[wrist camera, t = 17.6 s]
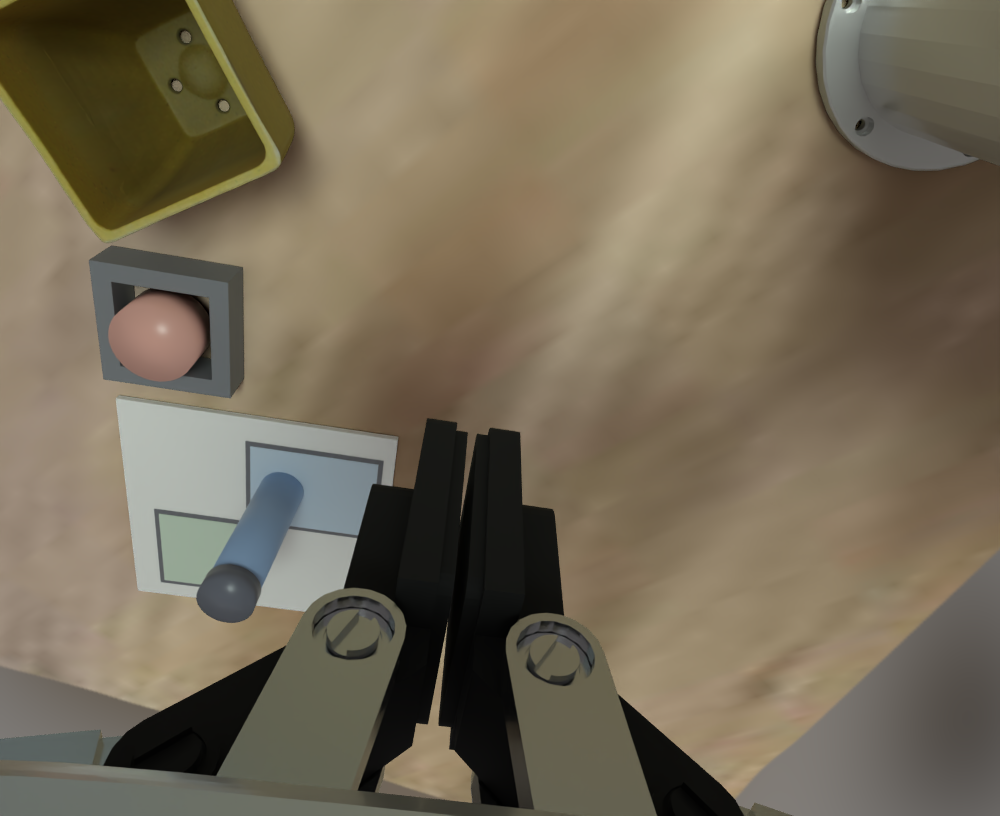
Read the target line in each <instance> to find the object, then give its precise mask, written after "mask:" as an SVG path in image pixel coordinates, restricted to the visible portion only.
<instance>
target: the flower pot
mask: <svg viewBox="0 0 1000 816" xmlns="http://www.w3.org/2000/svg"><path fill="white" fill-rule="evenodd" d="M182 30H187V31H188V32H189V33H190V34H191V41H190V43H183V42H182V41H181V39H180V37H179V34H180V32H181V31H182ZM173 79H177V80H179V81H180V82H181V84H182V90H181V91H180V92H178V91H175V90H173V89H172V87H171V81H172V80H173ZM0 99H1V101H2V102H3V103H4V105H5V106H6V108H7V109H8V110H9V112H10V113H11V114H12V116H13V117H14V118H15V120H16V121H17V123H18V124H19V125H20V127H21V128H22V129H23V131H24V132H25V133H26V135H27V136H28V138H29V139H30V140H31V142H32V143H33V145H34V146H35V148H36V149H37V151H38V152H39V154H40V155H41V156H42V158H43V159H44V161H45V163H46V164H47V165H48V167H49V168H50V170H51V171H52V173H53V175H54V176H55V178H56V179H57V181H58V182H59V184H60V185H61V187H62V188H63V190H64V191H65V193H66V194H67V196H68V197H69V199H70V200H71V201H72V203H73V204H74V206H75V207H76V209H77V210H78V212H79V213H80V215H81V217H82V218H83V220H84V221H85V222H86V224H87V225H88V226H89V227H90V229H91V230H92V231H93V232H94V233H95V234H96V235H97V237H98V238H99V239H100V240H101V241H102V242H104V243H111V242H114V241H117V240H119V239H121V238H124V237H126V236H128V235H130V234H132V233H134V232H136V231H139V230H141V229H143V228H145V227H148V226H150V225H152V224H154V223H156V222H159V221H161V220H163V219H165V218H168V217H170V216H172V215H174V214H177V213H179V212H181V211H184V210H186V209H188V208H191V207H193V206H195V205H198V204H200V203H202V202H204V201H207V200H209V199H211V198H213V197H216V196H218V195H220V194H223V193H225V192H227V191H230V190H232V189H234V188H237V187H239V186H242V185H244V184H246V183H248V182H251V181H253V180H256V179H258V178H260V177H263V176H265V175H267V174H269V173H271V172H273V171H275V170H276V169H278V167H279V166H280V165H281V163H282V161H283V159H284V157H285V155H286V153H287V151H288V149H289V147H290V145H291V143H292V140H293V137H294V131H295V129H294V122H293V119H292V116H291V114H290V112H289V110H288V108H287V106H286V104H285V102H284V100H283V98H282V97H281V95H280V93H279V91H278V89H277V87H276V85H275V83H274V81H273V79H272V77H271V76H270V74H269V72H268V70H267V68H266V66H265V64H264V62H263V60H262V58H261V56H260V54H259V52H258V51H257V49H256V47H255V45H254V43H253V41H252V39H251V37H250V35H249V33H248V31H247V29H246V27H245V25H244V23H243V21H242V19H241V17H240V15H239V13H238V11H237V9H236V7H235V5H234V3H233V1H232V0H0ZM221 99H224V100H226V101H227V102H228V103H229V106H230V108H229V110H228V111H226V112H223V111H221V110H220V109H219V108H218V102H219V100H221Z"/></svg>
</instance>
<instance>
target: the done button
mask: <svg viewBox="0 0 1000 816" xmlns="http://www.w3.org/2000/svg"><path fill="white" fill-rule="evenodd" d="M108 338H109V343H110V346H111V349H112V351H113V353H114V354H115V356H116V358H117V359H118V360H119V361H120V362H121V363H122V365H123V366H125V367H126V368H127V369H128V370H130V371H131V372H132V373H134V374H136V375H138V376H140V377H142V378H145V379H148V380H152V381H160V382H164V381H172V380H175V379H178V378H180V377H181V376H183V375H184V374H186V373H187V372H188V371H189V369H190V368H191V367H192V366H193V365H194V363H195V362H196V361H197V360H198V359H199V357H200V356H201V355H202V354H203V353H204V351H205V350H206V349H207V348H208V346H209V344H210V342H211V338H210V318H209V316H208V314H207V312H206V310H205V309H204V307H203V306H202V305H201V304H200V303H199V302H198V301H197V300H196V299H195V298H193V297H192V296H191V295H189V294H184V293H178V292H172V291H166V290H159V289H153V288H150V289H148V290H146V291H144V292H142V293H141V294H140V295H138V296H137V297H136V298H135V299H134V300H132V301H131V302H130V303H129V304H128V305H126V306H125V307H124V308H123V309H122V310H120V311H119V312H118V313H117V314H116V315H115V316H114V317H113V319H112V321H111V323H110V325H109V330H108Z"/></svg>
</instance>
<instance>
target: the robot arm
mask: <svg viewBox="0 0 1000 816" xmlns="http://www.w3.org/2000/svg"><path fill="white" fill-rule="evenodd" d="M841 4H842V0H826V2H825V5H824V9H823V13H822V17H821V22H820V26H819V31H818V35H817V51H816V69H817V77H818V85H819V91H820V94H821V97H822V100H823V103H824V105H825V108H826V111H827V114H828V115H829V117H830V119H831V120H832V122H833V123H834V125H835V127H836V128H837V130H838V131H839V133H840V134H841V135H842V136H843V137H844V138H845V139H846V140H847V141H848V142H849V143H850V144H851V145H852V146H853V147H855V148H856V149H858V150H859V151H861V152H863V153H864V154H866V155H868V156H869V157H871V158H873V159H875V160H877V161H880V162H882V163H885V164H887V165H890V166H892V167H897V168H903V169H908V170H913V171H934V170H944V169H949V168H954V167H959V166H964V165H967V164H969V163H972V162H975V161H977V160H980V159H981V160H984V161H987V162H990V163H992V164H995V165H998V166H1000V0H849V1H848V4H847V6H846V7H844V8H842V7H841ZM860 119H861V125H860V127H859V128H857V129H855V126H856V124H857V122H858V121H859V120H860ZM456 429H457V423H456V422H449V421H442V420H436V419H429V418H427V422H426V428H425V433H424V439H423V444H422V449H421V455H420V460H419V466H418V471H417V476H416V482H415V487H414V489H408V488H401V487H394V486H387V485H380V484H372V487H371V490H370V493H369V497H368V501H367V504H366V508H365V512H364V515H363V519H362V523H361V526H360V530H359V534H358V537H357V541H356V545H355V548H354V552H353V556H352V559H351V563H350V567H349V570H348V574H347V578H346V581H345V585H344V589H339V590H336V591H333V592H330V593H327V594H325V595H323V596H322V597H320V598H319V599H317V600H316V601H314V602H313V603H312V604H311V605H310V606H309V608H308V609H307V610H306V611H305V613H304V614H303V616H302V618H301V620H300V621H299V623H298V625H297V627H296V629H295V631H294V633H293V634H292V636H291V638H290V640H289V642H288V644H287V645H286V646H284V647H283V648H281V649H279V650H277V651H275V652H273V653H271V654H269V655H267V656H265V657H263V658H262V659H260V660H258V661H256V662H254V663H252V664H250V665H248V666H246V667H244V668H242V669H241V670H239V671H237V672H235V673H233V674H231V675H229V676H227V677H225V678H223V679H222V680H220V681H218V682H216V683H214V684H212V685H210V686H208V687H206V688H204V689H202V690H201V691H199V692H197V693H195V694H193V695H191V696H189V697H187V698H185V699H183V700H181V701H180V702H178V703H176V704H174V705H172V706H170V707H168V708H166V709H164V710H162V711H161V712H159V713H157V714H155V715H153V716H151V717H149V718H147V719H145V720H144V721H142V722H141V723H139V724H138V725H136V726H135V727H133V728H132V729H130V730H129V731H127V732H126V733H125V734H124V735H123V736H117V737H106V738H102V733H101V730H91V731H80V732H70V733H59V734H48V735H37V736H27V737H16V738H5V739H0V816H792V815H789V814H786V813H783V812H781V811H778V810H775V809H772V808H769V807H766V806H763V805H760V804H757V803H754V805H753V806H752V808H751V810H750V809H747V808H744V807H741V806H738V804H737V802H736V800H735V799H734V798H733V797H732V796H731V795H730V794H729V793H728V792H727V790H726V789H725V788H724V787H723V786H722V785H721V784H720V783H719V782H717V781H716V780H715V779H714V778H713V777H712V776H711V775H709V774H708V773H707V772H706V771H705V770H704V769H703V768H701V767H700V766H699V765H698V764H697V763H696V762H695V761H694V760H692V759H691V758H690V757H689V756H688V755H687V754H686V753H684V752H683V751H682V750H681V749H680V748H679V747H678V746H676V745H675V744H674V743H673V742H672V741H671V740H670V739H668V738H667V737H666V736H665V735H664V734H663V733H662V732H660V731H659V730H658V729H657V728H656V727H655V726H654V725H653V724H651V723H650V722H649V721H648V720H647V719H646V718H645V717H643V716H642V715H641V714H640V713H639V712H638V711H637V710H635V709H634V708H633V707H632V706H631V705H630V704H629V703H627V702H626V701H625V700H624V699H623V698H622V697H621V696H619V695H618V694H617V690H616V687H615V684H614V681H613V678H612V675H611V672H610V669H609V666H608V663H607V659H606V656H605V653H604V651H603V649H602V647H601V645H600V643H599V641H598V639H597V638H596V637H595V636H594V635H593V634H592V633H591V632H590V631H589V629H587V628H586V627H584V626H583V625H581V624H580V623H578V622H577V621H575V620H573V619H571V618H568V617H565V616H564V611H563V600H562V589H561V578H560V567H559V556H558V545H557V534H556V523H555V515H554V511H553V509H548V508H541V507H534V506H527V505H522V478H521V445H520V432H515V431H509V430H502V429H495V428H490V429H489V432H488V435H482V434H477V436H476V440H475V446H474V451H473V457H472V462H471V467H470V473H469V478H468V483H467V489H466V494H465V500H464V505H463V510H462V516H461V504H462V493H463V482H464V470H465V459H466V447H467V436H468V432H462V431H456ZM460 516H461V521H460ZM447 621H448V625H447ZM446 627H447V636H446V647H445V658H444V668H443V679H442V690H441V701H440V711H439V726H446V727H451V733H450V746H449V749H451V750H455V752H456V753H457V754H458V755H459V756H460V757H461V758H462V759H463V761H464V762H465V763H466V764H467V765H468V766H469V767H470V768H471V770H472V775H471V794H472V803H467V802H458V801H449V800H440V799H430V798H421V797H411V796H402V795H393V794H384V793H379V790H380V787H381V784H382V781H383V778H384V771H385V765H386V764H388V763H389V762H390V761H392V760H393V759H394V758H396V757H397V756H399V755H400V754H401V753H403V752H404V751H406V750H407V749H408V748H410V747H411V746H412V743H413V738H414V732H415V727H416V723H420V724H428V721H429V715H430V710H431V705H432V700H433V695H434V689H435V684H436V679H437V674H438V668H439V663H440V658H441V653H442V648H443V642H444V637H445V632H446Z"/></svg>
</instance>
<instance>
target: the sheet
mask: <svg viewBox="0 0 1000 816" xmlns="http://www.w3.org/2000/svg"><path fill="white" fill-rule="evenodd" d="M116 405H117V414H118V422H119V431H120V440H121V448H122V457H123V466H124V474H125V483H126V491H127V500H128V509H129V517H130V526H131V535H132V543H133V552H134V561H135V569H136V578H137V586H138V590H139V591H147V592H155V593H163V594H170V595H178V596H186V597H194V598H196V595H197V591H198V589H199V588H200V586H201V584H202V582H203V580H204V579H205V577H206V575H207V573H208V572H209V571H210V570H211V569H212V568H213V567H214V565H215V563H216V561H217V560H218V558H219V556H220V554H221V552H222V551H223V549H224V547H225V545H226V544H227V542H228V540H229V538H230V536H231V535H232V533H233V531H234V529H235V528H236V526H237V524H238V522H239V520H240V519H241V517H242V515H243V513H244V512H245V510H246V508H247V506H248V504H249V503H250V501H251V499H252V497H253V496H254V494H255V492H256V490H257V489H258V487H259V485H260V483H261V481H262V480H263V478H264V477H265V476H267V475H268V474H270V473H274V472H283V473H287V474H290V475H292V476H293V477H295V478H296V479H297V480H298V481H299V482H300V483H301V485H302V487H303V490H304V496H303V499H302V501H301V503H300V505H299V507H298V510H297V512H296V514H295V516H294V518H293V521H292V523H291V525H290V527H289V529H288V531H287V534H286V536H285V538H284V540H283V542H282V545H281V547H280V549H279V551H278V553H277V556H276V558H275V560H274V562H273V564H272V566H271V569H270V571H269V573H268V575H267V577H266V580H265V582H264V584H263V586H262V588H261V595H260V597H259V599H258V602H257V604H256V605H257V606H265V607H272V608H280V609H288V610H296V611H304V612H305V611H306V610H307V609H308V608H309V606H310V605H311V604H312V603H313V602H314V601H316V600H317V599H319V598H320V597H322V596H323V595H325V594H327V593H330V592H333V591H336V590H339V589H344V585H345V581H346V578H347V574H348V570H349V567H350V563H351V559H352V556H353V552H354V548H355V545H356V541H357V537H358V534H359V530H360V526H361V523H362V519H363V515H364V512H365V508H366V504H367V501H368V497H369V493H370V490H371V487H372V484H380V485H387V486H393V478H394V470H395V461H396V453H397V445H398V437H397V436H390V435H384V434H377V433H370V432H363V431H357V430H350V429H343V428H337V427H330V426H323V425H316V424H310V423H303V422H296V421H289V420H283V419H276V418H269V417H262V416H256V415H249V414H242V413H236V412H229V411H222V410H215V409H209V408H202V407H195V406H188V405H182V404H175V403H168V402H161V401H155V400H148V399H141V398H135V397H128V396H121V395H119V396H118V397H117V398H116Z"/></svg>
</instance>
